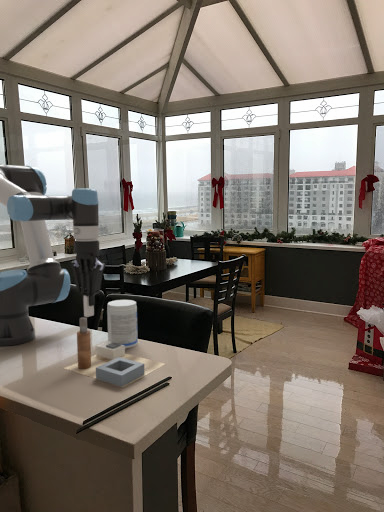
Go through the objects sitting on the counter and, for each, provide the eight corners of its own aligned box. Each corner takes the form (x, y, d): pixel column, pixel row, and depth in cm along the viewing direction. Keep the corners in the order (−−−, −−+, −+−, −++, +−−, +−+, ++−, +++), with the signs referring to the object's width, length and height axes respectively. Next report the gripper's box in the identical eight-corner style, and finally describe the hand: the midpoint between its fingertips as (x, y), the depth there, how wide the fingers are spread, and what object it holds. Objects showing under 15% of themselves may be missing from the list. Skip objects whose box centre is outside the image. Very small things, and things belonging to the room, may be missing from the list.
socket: (96, 378, 108) (95, 367, 108) (119, 367, 115) (119, 356, 115) (121, 386, 103) (121, 375, 103) (144, 374, 111) (144, 363, 110)
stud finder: (96, 355, 124) (96, 344, 124) (107, 350, 129) (107, 339, 128) (113, 360, 121) (113, 348, 120) (124, 354, 125) (124, 343, 124)
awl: (75, 367, 115) (73, 318, 113) (84, 363, 118) (83, 315, 116) (84, 370, 113) (82, 320, 111) (93, 365, 116) (92, 317, 114)
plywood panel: (63, 371, 115) (63, 368, 114) (109, 352, 130) (108, 349, 130) (123, 391, 103) (123, 387, 103) (165, 367, 118) (165, 363, 118)
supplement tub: (143, 346, 135) (143, 302, 133) (119, 353, 128) (118, 308, 127) (126, 339, 142) (125, 297, 140) (102, 346, 135) (101, 302, 134)
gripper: (62, 239, 125) (65, 315, 128) (92, 241, 118) (95, 321, 121) (80, 238, 131) (83, 310, 134) (111, 239, 125) (113, 315, 127)
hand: (89, 315), depth 128 cm, fingers closed
